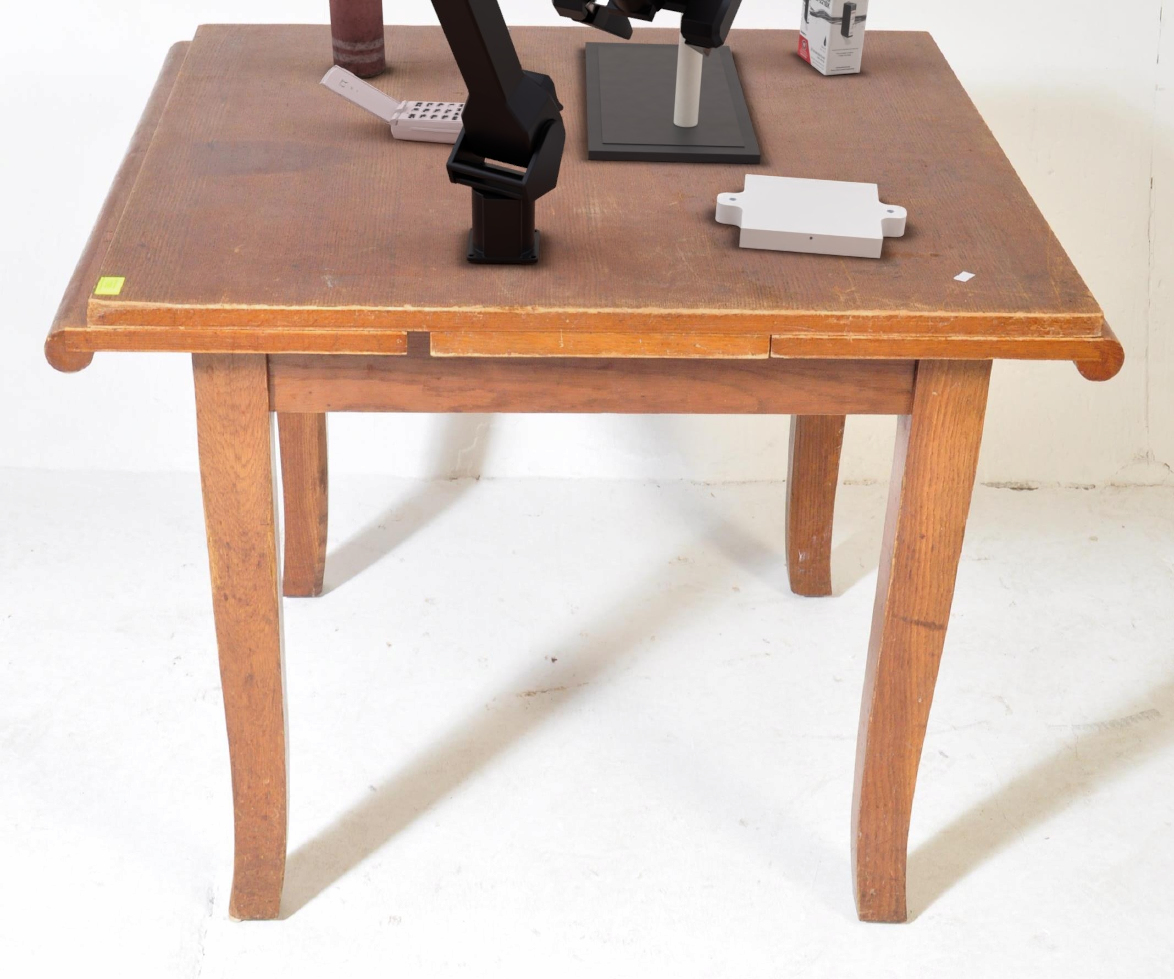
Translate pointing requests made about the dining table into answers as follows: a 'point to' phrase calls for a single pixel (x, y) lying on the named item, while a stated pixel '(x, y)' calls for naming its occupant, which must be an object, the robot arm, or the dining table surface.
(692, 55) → the white plastic rod
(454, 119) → the mobile phone
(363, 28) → the can
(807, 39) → the ink box
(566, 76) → the dining table surface
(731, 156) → the tablet
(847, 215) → the mounting plate
